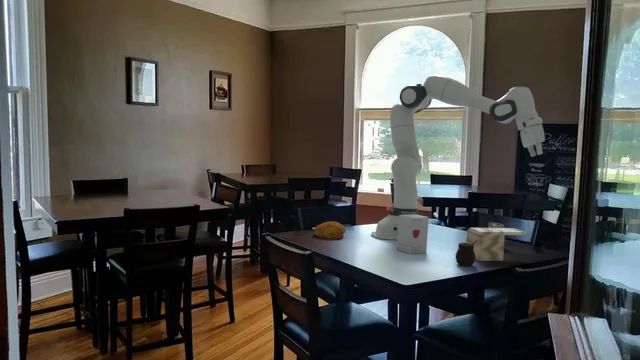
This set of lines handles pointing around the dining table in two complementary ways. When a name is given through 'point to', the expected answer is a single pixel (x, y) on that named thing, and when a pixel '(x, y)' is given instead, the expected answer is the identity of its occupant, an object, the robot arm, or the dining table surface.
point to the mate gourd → (465, 254)
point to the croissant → (330, 230)
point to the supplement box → (412, 233)
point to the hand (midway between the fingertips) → (536, 155)
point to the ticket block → (487, 243)
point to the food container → (495, 225)
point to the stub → (511, 231)
